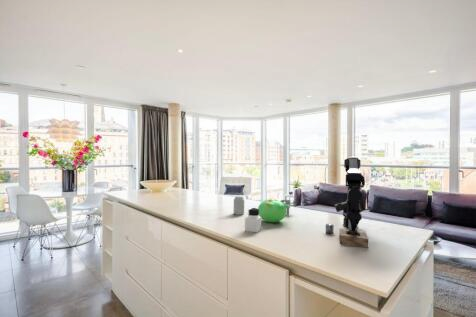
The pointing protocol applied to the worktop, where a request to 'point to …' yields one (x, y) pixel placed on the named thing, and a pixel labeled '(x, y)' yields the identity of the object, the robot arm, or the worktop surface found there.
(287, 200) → the mechanical component
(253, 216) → the medicine bottle
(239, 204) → the can
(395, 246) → the worktop surface
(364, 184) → the robot arm
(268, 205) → the green rounded lump
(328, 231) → the short pin
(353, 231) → the tall pin
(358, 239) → the hole block
